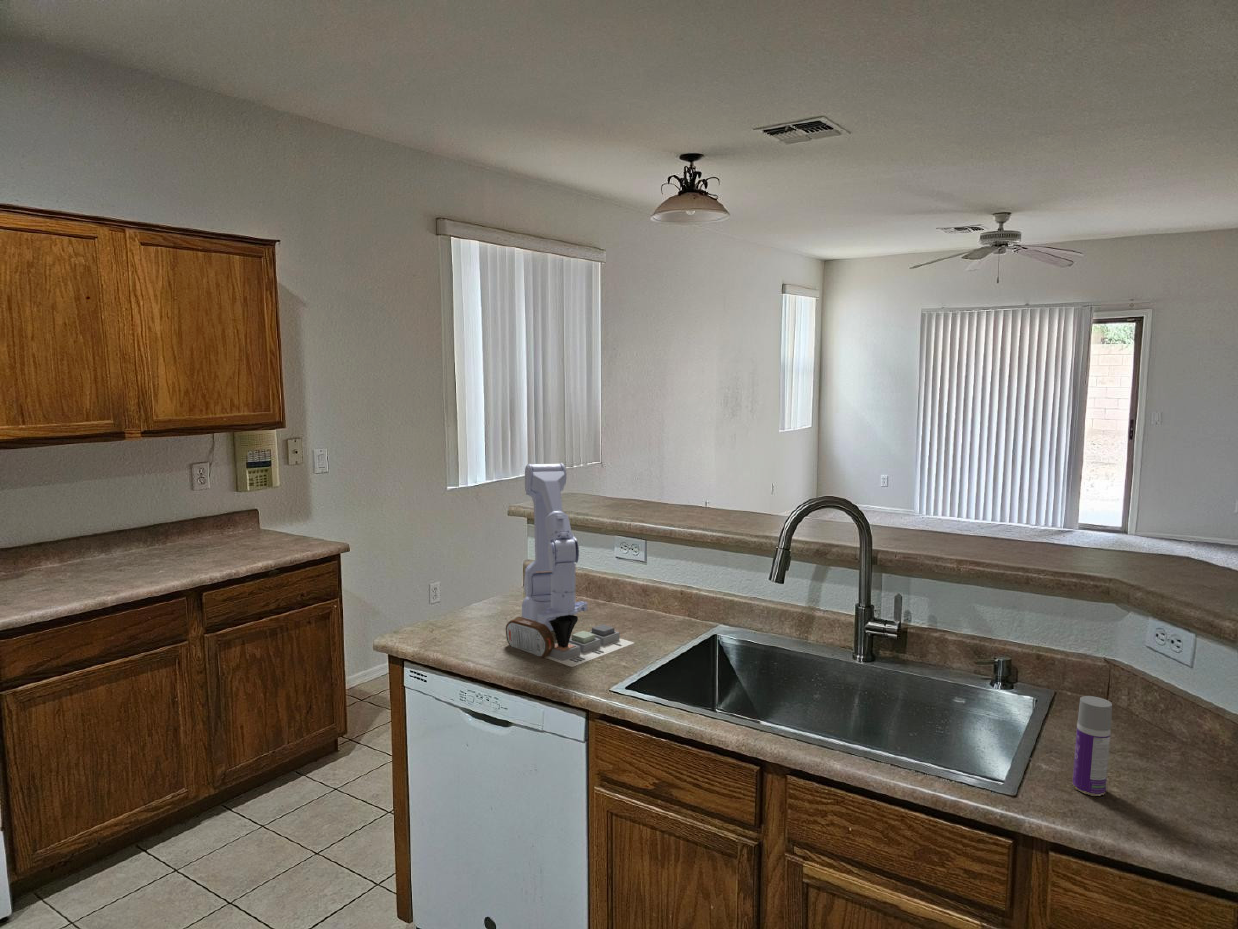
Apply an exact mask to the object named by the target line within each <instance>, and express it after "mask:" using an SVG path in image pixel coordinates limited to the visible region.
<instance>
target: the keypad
mask: <svg viewBox="0 0 1238 929" xmlns="http://www.w3.org/2000/svg"><path fill="white" fill-rule="evenodd" d="M588 632H589V633H592V630H591V631H588ZM620 633H621V632H620V631H618V630H617V631H616V630H614V633H613V634H610V635H607V636H604V637H603V636H600V635H596V634H595V640H593V641H590V642H588V643H585V644H583V643H580V642H577V641H573V640H572V637H570V640H569V644H571V645H574V646H575V647H574V648H571V649H568V650H565V651H560V650H557V649H552V651H551V653H550V654H549V655H548V656H547V657H544V659H548V660H551V661H554V662H556V663H560V664H563V665H565V666H568V667H571V668H573V667H576V666H579V665H581V664H583V663H586V662H589V661H591V660H594V659H597V658H599V657H602V656H605V655H607V654H610V653H612V652H615V651H619V650H621V649H623V648H626V647H628V646H631V645H633V644H635V642H634V641H630V640H627V639H623V638H620ZM592 634H593V633H592ZM556 644H557V642H555V645H556Z"/></svg>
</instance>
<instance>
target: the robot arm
mask: <svg viewBox="0 0 1238 929" xmlns="http://www.w3.org/2000/svg"><path fill="white" fill-rule="evenodd" d="M566 483H567V469H566V466H565V464H564V463H563V462H558V463H527V464H526V466H525V467H524V490H525V495H527V496H529V497H531V498H532V502H533V523H534V554H535V555H534V558H535V559H534V560H533V561H531V563H529V564H528V565H527V566H526V567H525V570H524V578H523V583H524V584H523V586H524V587H523V588H524V594H525V597H524V598H523V601H522V604H521V617H523V618H526V619H530V620H533V621H537V622H538V623H542V624H545V625H546V626H547V627H548V628H549V629H550V631H551V632H554V636H555V639H556V643H557V644H558V646H560V647H563V648H565V647H568V644H569V640H570V638H571V637H572V633H573V630H574V628H575V626H576V624H577V623H578V620H579V617H578V616H577V614H578V613H579V612H586V611H588V602H586V601H582V600H581V601H577V602H576V571H577V570H576V569H577V568H576V563H579V559H580V558H579V557H580V548H579V542H578V539H577V537H576V536H575V534H573V532H572V528H571V523H570V517H569V516H568V514H566V513H565V512H564V511H563V502H562V493H561V492H563V490H564V489H565V486H566Z"/></svg>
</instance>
